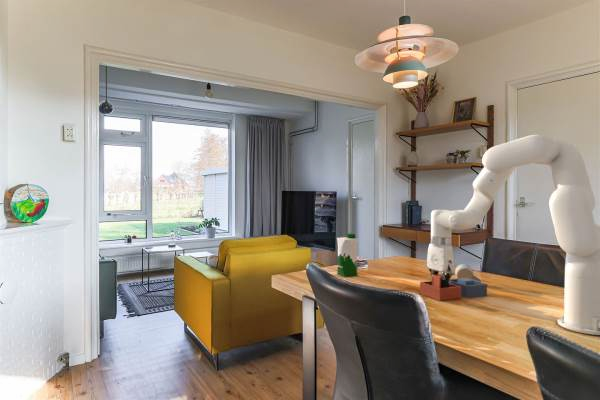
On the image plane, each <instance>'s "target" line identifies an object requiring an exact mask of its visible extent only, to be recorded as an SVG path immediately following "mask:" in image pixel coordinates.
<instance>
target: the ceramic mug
mask: <svg viewBox="0 0 600 400" xmlns="http://www.w3.org/2000/svg"><path fill="white" fill-rule="evenodd" d="M454 271H455V274H454V275H455V279H459V278H468V279H472V280H474V281H477V282H481V283H482V280H481V278H479V277H477V276H476V275H474V270H473V268H472V267H471V266H470V265H469V264H466V263H461V264H458V265H457V266H456V268H455V269H454Z"/></svg>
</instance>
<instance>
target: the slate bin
mask: <svg viewBox="0 0 600 400" xmlns="http://www.w3.org/2000/svg"><path fill="white" fill-rule="evenodd" d="M449 283H451V284H454V285H457V286H461V297H463V298H466V299H468V298H478V297H487V296H488V283H485V282H482V281H481V282H477V281H474V285H469V286H466V285H463V284H460V283H457V278H450V279H449Z"/></svg>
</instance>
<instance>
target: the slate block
mask: <svg viewBox="0 0 600 400" xmlns="http://www.w3.org/2000/svg"><path fill="white" fill-rule="evenodd" d="M456 279H457V278H456ZM457 283H460V284H463V285H466V286H469V285H474V280H472V279H468V278H459V279H457Z"/></svg>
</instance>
